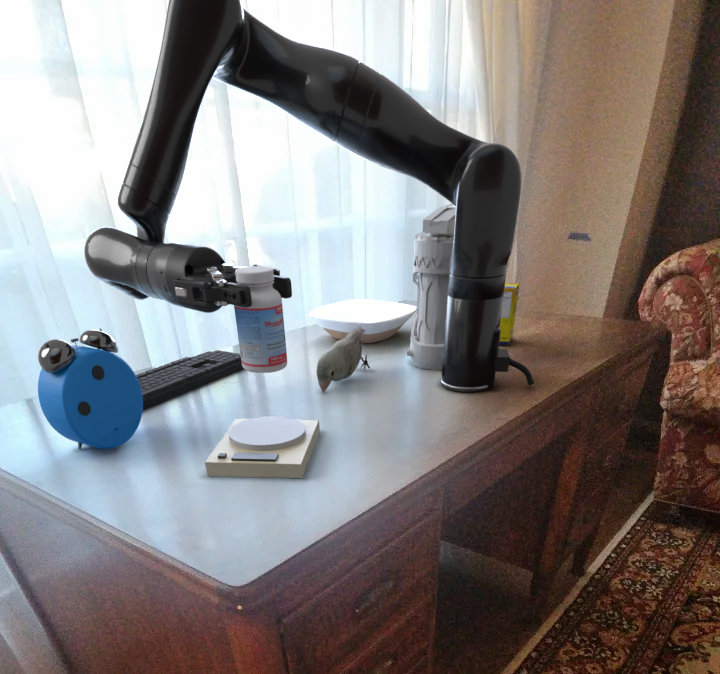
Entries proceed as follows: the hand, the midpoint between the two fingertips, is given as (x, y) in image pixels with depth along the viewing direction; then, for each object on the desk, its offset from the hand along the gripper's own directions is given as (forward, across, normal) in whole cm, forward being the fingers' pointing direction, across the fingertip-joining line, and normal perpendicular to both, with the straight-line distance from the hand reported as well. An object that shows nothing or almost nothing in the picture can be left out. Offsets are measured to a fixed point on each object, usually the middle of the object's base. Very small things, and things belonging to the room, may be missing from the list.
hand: (269, 292), depth 70 cm
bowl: (-35, +57, +21) cm, 70 cm away
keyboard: (-40, +7, +21) cm, 45 cm away
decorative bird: (-16, +30, +20) cm, 39 cm away
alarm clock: (-23, -15, +20) cm, 34 cm away
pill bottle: (-2, 0, +9) cm, 10 cm away
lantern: (-9, +51, +20) cm, 55 cm away
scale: (-2, -2, +20) cm, 20 cm away
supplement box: (-8, +70, +20) cm, 74 cm away
